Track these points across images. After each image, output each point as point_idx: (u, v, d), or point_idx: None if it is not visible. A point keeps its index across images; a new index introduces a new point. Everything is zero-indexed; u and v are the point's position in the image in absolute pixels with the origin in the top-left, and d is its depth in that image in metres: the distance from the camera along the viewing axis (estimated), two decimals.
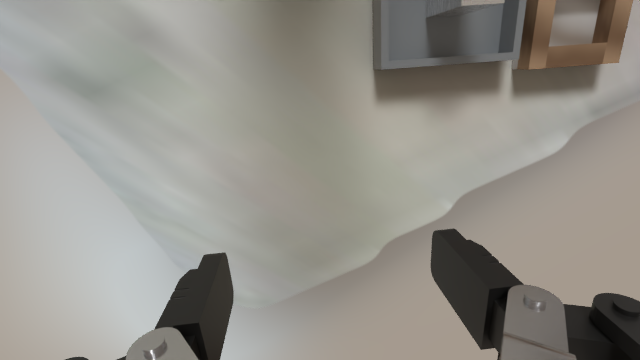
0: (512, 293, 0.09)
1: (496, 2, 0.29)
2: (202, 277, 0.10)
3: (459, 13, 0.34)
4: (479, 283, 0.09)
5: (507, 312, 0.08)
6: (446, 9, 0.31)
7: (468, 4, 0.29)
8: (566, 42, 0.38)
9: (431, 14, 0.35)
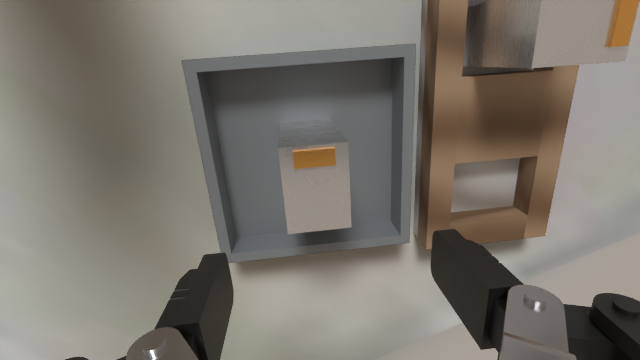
0: (512, 293, 0.09)
1: (339, 227, 0.20)
2: (202, 277, 0.10)
3: None
4: (479, 283, 0.09)
5: (507, 312, 0.08)
6: None
7: (298, 231, 0.20)
8: (479, 205, 0.30)
9: None
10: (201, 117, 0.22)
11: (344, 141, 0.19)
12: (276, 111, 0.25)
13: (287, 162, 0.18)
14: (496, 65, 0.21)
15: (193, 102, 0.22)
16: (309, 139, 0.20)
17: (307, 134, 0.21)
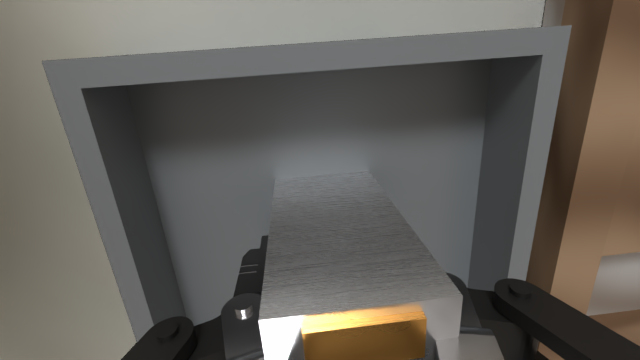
0: None
1: None
2: None
3: None
4: None
5: None
6: None
7: None
8: (610, 307, 0.18)
9: None
10: (102, 184, 0.10)
11: (449, 291, 0.07)
12: (267, 159, 0.13)
13: (286, 353, 0.06)
14: None
15: (80, 154, 0.10)
16: (344, 265, 0.08)
17: (334, 235, 0.09)
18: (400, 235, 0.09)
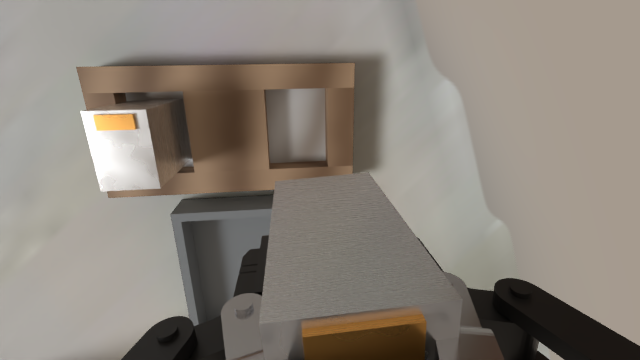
0: None
1: None
2: (266, 254, 0.11)
3: None
4: None
5: None
6: None
7: None
8: (321, 123, 0.31)
9: None
10: None
11: (448, 294, 0.07)
12: (232, 284, 0.36)
13: (286, 356, 0.06)
14: (173, 174, 0.26)
15: None
16: (344, 268, 0.08)
17: (334, 238, 0.09)
18: (400, 238, 0.09)
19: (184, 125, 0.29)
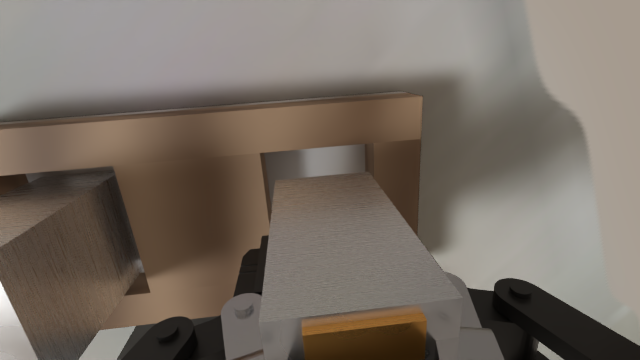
0: None
1: None
2: (266, 254, 0.11)
3: None
4: None
5: None
6: None
7: None
8: None
9: None
10: None
11: (449, 292, 0.07)
12: None
13: (286, 355, 0.06)
14: (101, 322, 0.14)
15: None
16: (344, 266, 0.08)
17: (334, 236, 0.09)
18: (400, 236, 0.09)
19: None
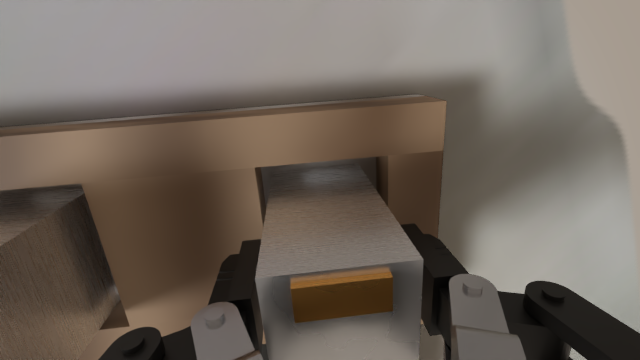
0: (453, 284, 0.09)
1: None
2: (245, 260, 0.11)
3: None
4: (427, 272, 0.10)
5: (452, 303, 0.08)
6: None
7: None
8: None
9: None
10: None
11: (412, 256, 0.08)
12: None
13: (278, 307, 0.08)
14: None
15: None
16: (328, 238, 0.09)
17: (322, 215, 0.10)
18: (378, 215, 0.10)
19: None
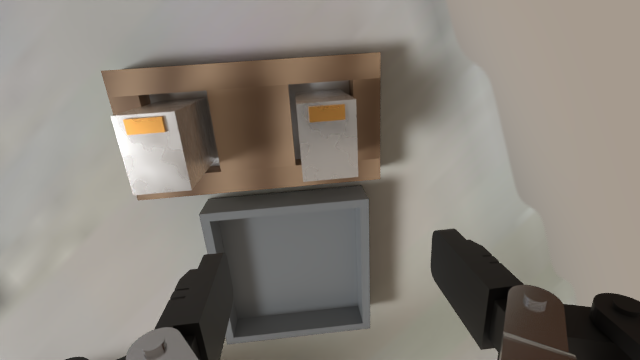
0: (512, 293, 0.09)
1: (348, 176, 0.23)
2: (202, 277, 0.10)
3: None
4: (479, 283, 0.09)
5: (507, 312, 0.08)
6: None
7: (312, 180, 0.23)
8: None
9: None
10: (261, 336, 0.35)
11: (352, 99, 0.22)
12: (261, 281, 0.36)
13: (303, 117, 0.22)
14: (202, 174, 0.26)
15: (252, 339, 0.35)
16: (322, 99, 0.23)
17: (320, 97, 0.24)
18: (344, 95, 0.24)
19: (208, 124, 0.29)
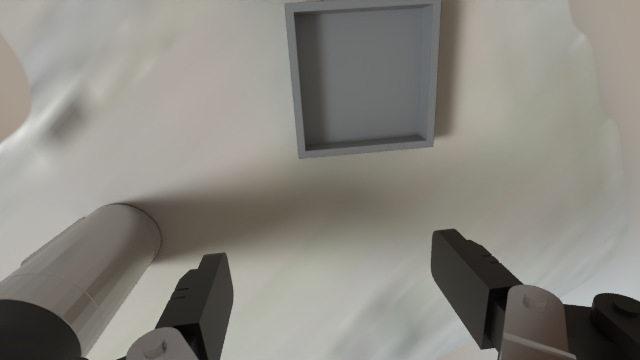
0: (512, 293, 0.09)
1: None
2: (202, 277, 0.10)
3: None
4: (479, 283, 0.09)
5: (507, 312, 0.08)
6: None
7: None
8: None
9: None
10: (331, 150, 0.37)
11: None
12: (329, 102, 0.37)
13: None
14: None
15: (322, 154, 0.37)
16: None
17: None
18: None
19: None
